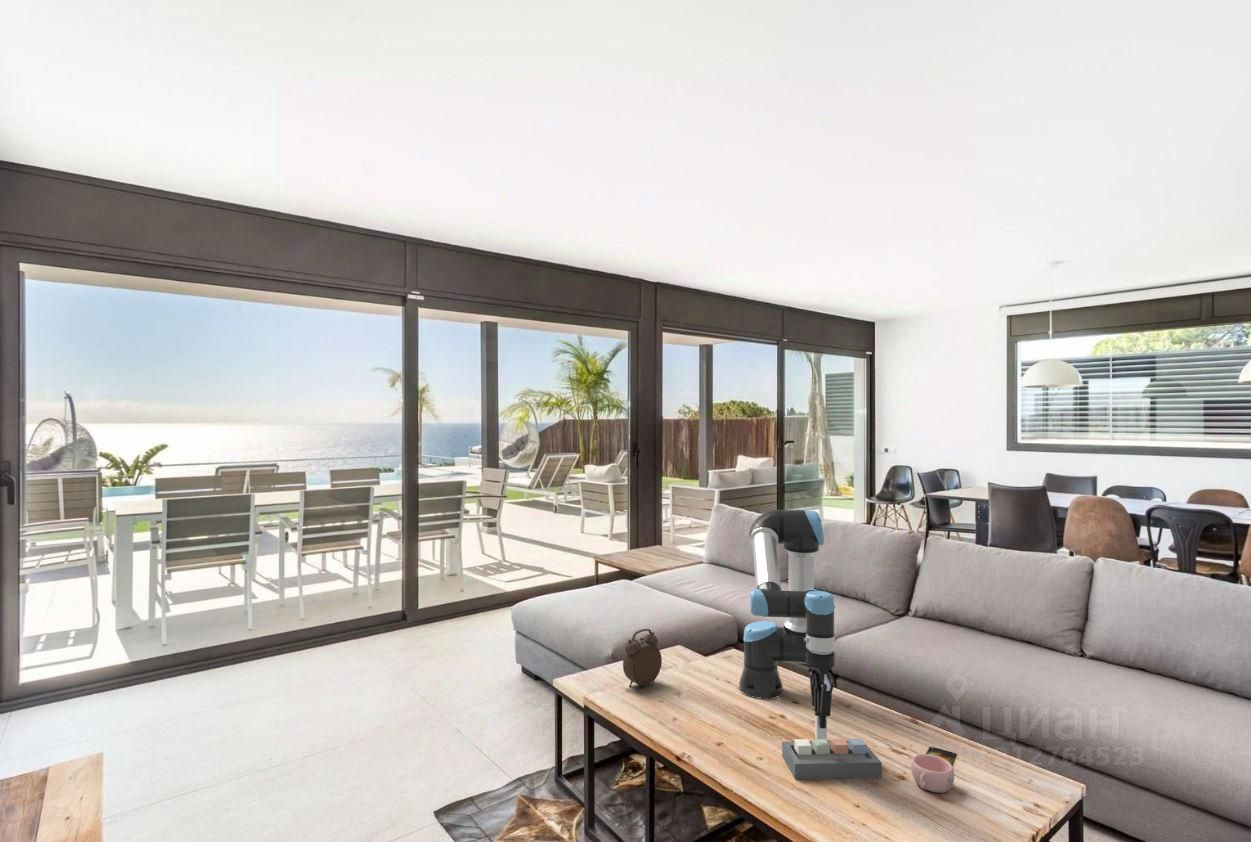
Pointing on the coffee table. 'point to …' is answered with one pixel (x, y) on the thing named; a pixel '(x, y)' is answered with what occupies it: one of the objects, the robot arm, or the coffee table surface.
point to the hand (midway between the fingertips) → (821, 738)
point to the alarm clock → (642, 659)
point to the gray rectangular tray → (831, 764)
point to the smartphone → (942, 754)
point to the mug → (932, 773)
